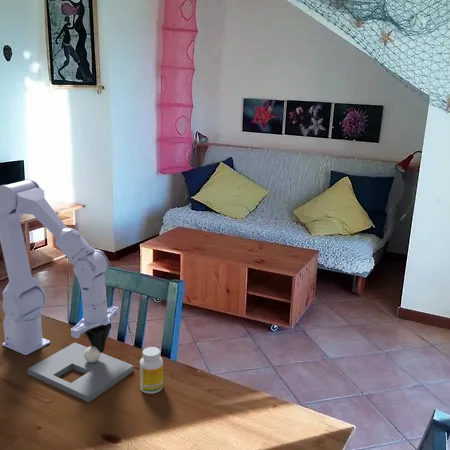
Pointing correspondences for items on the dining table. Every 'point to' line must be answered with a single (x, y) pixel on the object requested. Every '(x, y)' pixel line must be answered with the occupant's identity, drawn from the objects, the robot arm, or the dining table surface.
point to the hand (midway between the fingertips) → (98, 351)
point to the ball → (92, 354)
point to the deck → (94, 372)
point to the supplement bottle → (151, 371)
